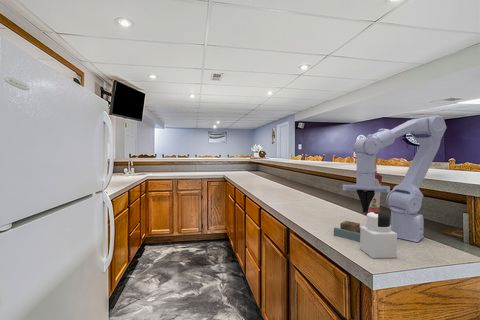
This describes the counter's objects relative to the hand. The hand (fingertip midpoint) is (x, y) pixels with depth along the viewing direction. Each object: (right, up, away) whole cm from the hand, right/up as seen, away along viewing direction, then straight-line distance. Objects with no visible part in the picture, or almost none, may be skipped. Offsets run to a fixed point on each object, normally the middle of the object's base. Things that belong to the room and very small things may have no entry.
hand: (365, 212), depth 86 cm
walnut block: (-4, -9, +4) cm, 11 cm away
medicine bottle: (-3, -10, -12) cm, 16 cm away
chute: (-3, -9, +3) cm, 10 cm away
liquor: (+20, -9, +33) cm, 40 cm away
